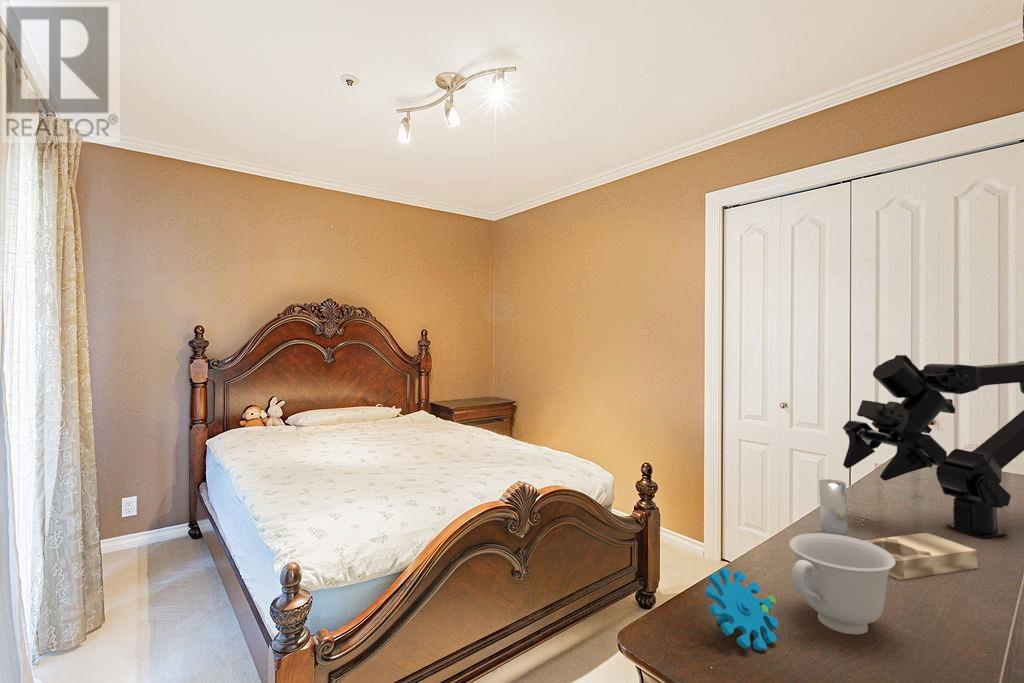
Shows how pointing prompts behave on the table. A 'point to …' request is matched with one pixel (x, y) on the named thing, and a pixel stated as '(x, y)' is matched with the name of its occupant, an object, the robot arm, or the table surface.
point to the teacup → (841, 579)
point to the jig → (926, 555)
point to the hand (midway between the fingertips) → (862, 472)
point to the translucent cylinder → (833, 507)
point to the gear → (742, 609)
